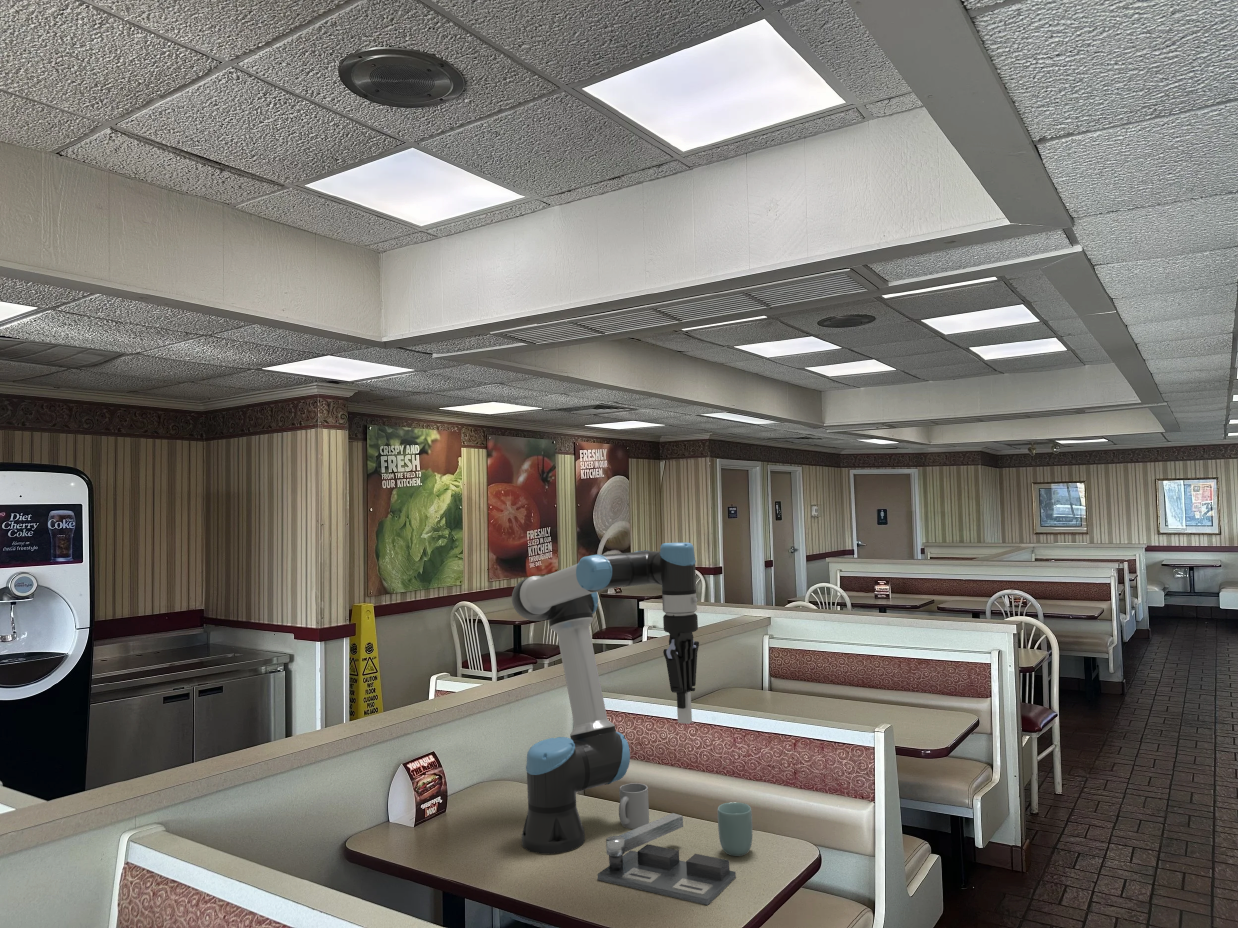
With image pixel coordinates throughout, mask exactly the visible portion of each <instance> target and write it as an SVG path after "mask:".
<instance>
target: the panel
mask: <svg viewBox="0 0 1238 928" xmlns="http://www.w3.org/2000/svg"><path fill="white" fill-rule="evenodd" d="M608 862H609V865H608V866H607V867H605V868H604V869H602V870H601V871H600V872H599V873H597V881H600V882H605V883H609V884H612V885H613V884H614V885H616V886H617V885H618V886H623V887H626V888H631V889H635V890H640V891H642V892H643V891H644V892H648V893H653V894H656V895H661V896H666V897H670V898H674V899H678V900H679V899H680V900H683V901H686V902H687V901H688V902H691V903H696V904H701V905H704V906H705V905H706V906H708V905H710V904H711V903H712V902H713V901H714V900H715V899H716V898H717V897H718V896H719V895H720V894H721V893H722V892H723V891H724V890H725V889H726V888H727V887H728V886H729V885H730V884H731V883H732V882H733V881H734V880H735V879H736V878H737V876H736V875H737V873H736V871H734V870H731V869H730V860H728V859H725V858H724V859H723V858H719V857H714V856H709V855H704V854H700V853H694V854H693V855H692V856H691V857H689V859H687V860H686V861H685V860H680V850H677V849H674V848H670V847H669V848H667V847H665V846H658V845H653V844H648V843H646V844H645V845H643V847H641V848H640V849H638V850H637V851H635V850H632V849H631V850H629V851H627V852H625V853H624V854H623V855H620V856H609V855H608Z"/></svg>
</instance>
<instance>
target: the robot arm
mask: <svg viewBox="0 0 1238 928" xmlns="http://www.w3.org/2000/svg"><path fill="white" fill-rule="evenodd" d="M696 561H697V560H696V557H695V547H694V544H692V543H691V542H685V541H684V542H665V543H661V545H660V551H656V550H655V551H652V550H647V549H646V550H636V551H633V552H622V553H612V554H611V553H608V554H591V555H587V556H583V557H581V558H580V560H579V561H578V563H576V564H573V565H570V566H568V567H565V568H562V569H560V570H557V571H555V572H552V573H549V574H546V575H533V576H530V577H525V578H524V579H522V580H520V581H519V582H518V583H517V584H516V585H515V586H514V587H513V588H514V589H513V591H512V592H511V593H512V594H511V604H512V607H513V609H514V611H515V612H516V613H517V614H518V615H519V616H520V617H521V618H524V619H526V620H528V621H534V622H541V621H543V622H544V621H548V624H549V629H550V630H551V631H553V632H554V633H556V635H557V639H558V640H557V641H558V644H559V645H558V646H559V650H560V651H559V652H560V657H561V661H562V667H563V672H564V679H565V682H566V688H567V693H568V699H569V703H570V705H569V706H570V709H571V714H572V715H571V716H572V721H573V726H574V727H573V729H572V730H571V732H570V733H569V736H570V737H567V736H557V737H549V738H546V739H543V740H541V741H540V740H539V741H538V742H535V743H534V744H533V745H532V746H531V747H530V748H529V749H528V751H527V753H526V764H525V771H526V782H527V783H526V785H527V789H526V790H527V804H528V805H527V809H528V810H527V814H526V818H525V821H524V825H523V827H522V828H523V829H522V832H521V846H522V847H523V848H524V849H525V850H526V851H529V852H531V853H535V854H544V855H546V854H547V855H551V854H552V855H553V854H562V853H566V852H570V851H572V850H575V849H578V848H579V847H580V846H582V845H583V844H584V843H585V839H586V837H585V828H584V826H583V824H582V820H581V817H580V812H579V810H578V808H577V793H579V792H581V791H585V790H588V789H594V788H596V787H601V786H605V785H606V786H607V785H611V784H612V783H614V782H617V781H619V780H621V779H623V778H624V776H626V774H627V771H628V770H629V767H630V763H631V752H630V746H629V742H628V739H625V736H624V734H622V732H619V731H617V729H616V725H615V724H614V723H613V722H611V721H610V720H609V719H608V715H607V711H606V706H605V705H606V704H605V701H604V695H603V692H602V691H603V690H602V686H601V680H600V676H599V670H598V665H597V661H596V655H595V650H594V646H593V640H592V635H591V629H590V626H591V624H592V622H593V621H594V613H595V612H596V611H597V609H598V607H599V605H598V603H599V595H598V592H602V591H605V590H609V589H615V588H616V589H617V588H625V587H636V586H643V585H644V586H645V585H646V586H647V585H660V586H661V589H662V590H661V595H662V596H661V597H662V612H663V613H664V614H663V617H662V621H663V623H662V624H663V631H664V632H665V633H668V634H669V639H668V645H669V647H668V648H664V649H663V653H662V654H663V656H664V659H665V662H666V668H667V674H668V681H669V688H670V692H671V693H673V694H674V693H675V694H676V709H677V710H676V711H677V713H676V714H677V715H676V716H677V723H678V724H685V725H686V724H687V725H689V724H691V723H693V716H692V715H693V713H692V694H691V693H692V692H695V691H696V685H697V684H696V682H697V668H698V666H697V665H698V653H699V648H700V641H696V640H694V634H693V633H694V632H697V631H698V629H699V623H698V615H697V613H695V612H697V611H698V606H697V603H698V601H699V600H698V599H699V598H697V580H696V578H697V577H696V576H697V575H696V563H697V562H696Z"/></svg>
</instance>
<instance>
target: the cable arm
mask: <svg viewBox="0 0 1238 928" xmlns="http://www.w3.org/2000/svg"><path fill="white" fill-rule="evenodd" d="M681 828H684V817H683V815H681V814H677V813H674V812H672V813H669V814H668V815H665V816H663V817H660V818H657V819H655V820H652V821H649V823H648V824H645V825H643V826H641V827H638V828H636V829H631V830H629V831H627V832H625V833H622V834H619V835H611V836H608V837H606V840H605V847H606V848H605V849H606V855H608V857H609V856H620V855H625V854H626V853H628V852H629V851H630V850H631V851H632V850H634V849H636V848H638V847H640V846H644V845H646V844H648V843H650V842H652V841H654V840H657V839H658V838H661V837H663V836H666V835H667V834H670V833H672V832H674V831H675V832H676V831H677V830H679V829H681Z"/></svg>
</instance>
